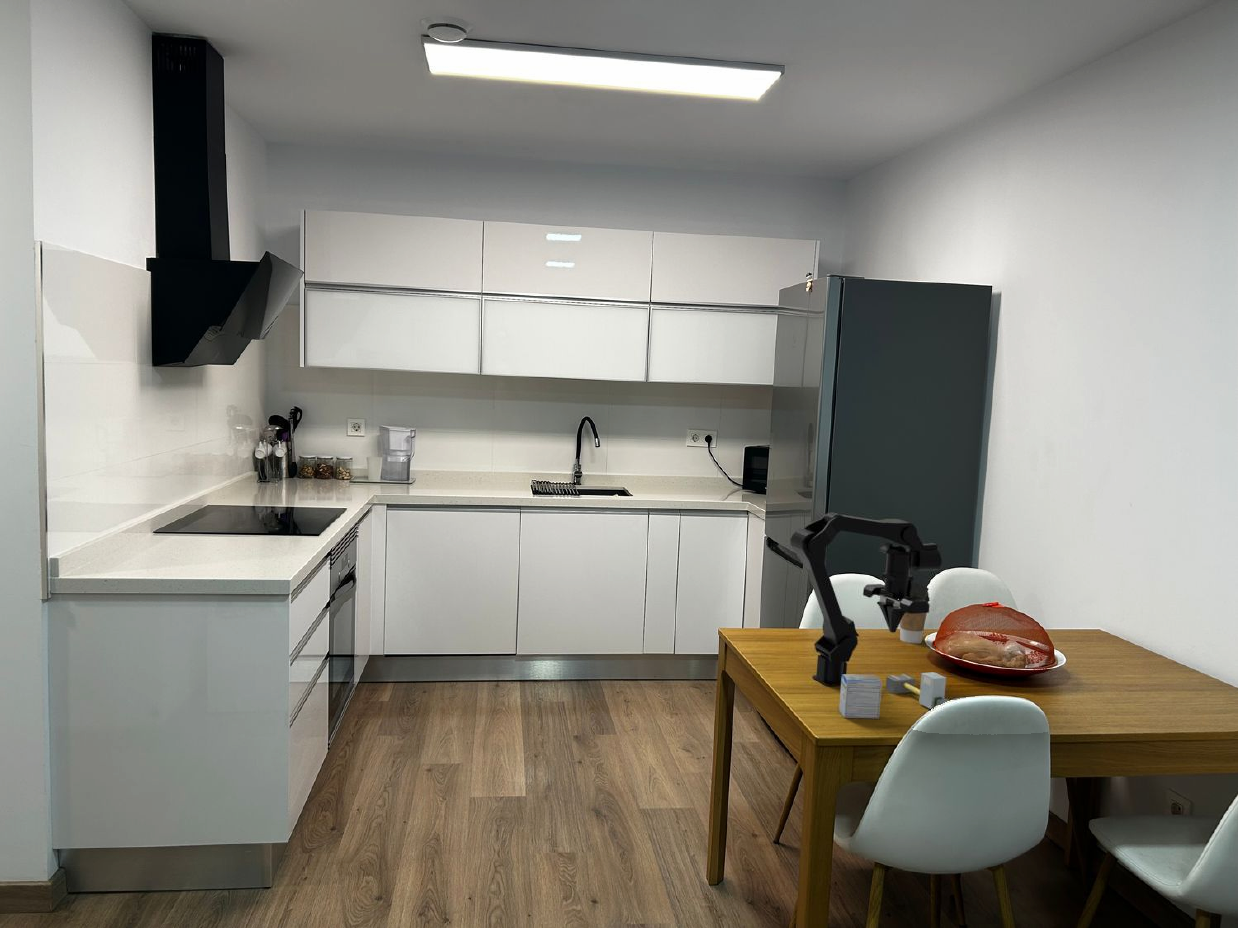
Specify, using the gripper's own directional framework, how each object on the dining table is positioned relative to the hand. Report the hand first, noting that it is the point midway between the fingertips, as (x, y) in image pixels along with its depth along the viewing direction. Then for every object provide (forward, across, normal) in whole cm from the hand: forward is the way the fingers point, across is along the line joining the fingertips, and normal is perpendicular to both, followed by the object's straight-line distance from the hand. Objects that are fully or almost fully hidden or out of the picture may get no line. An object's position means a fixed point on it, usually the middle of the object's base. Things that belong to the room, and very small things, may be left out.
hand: (892, 632), depth 230 cm
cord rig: (+12, -16, +3) cm, 20 cm away
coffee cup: (+12, +27, -29) cm, 41 cm away
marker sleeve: (+12, -19, +3) cm, 23 cm away
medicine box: (+12, -19, +23) cm, 32 cm away
